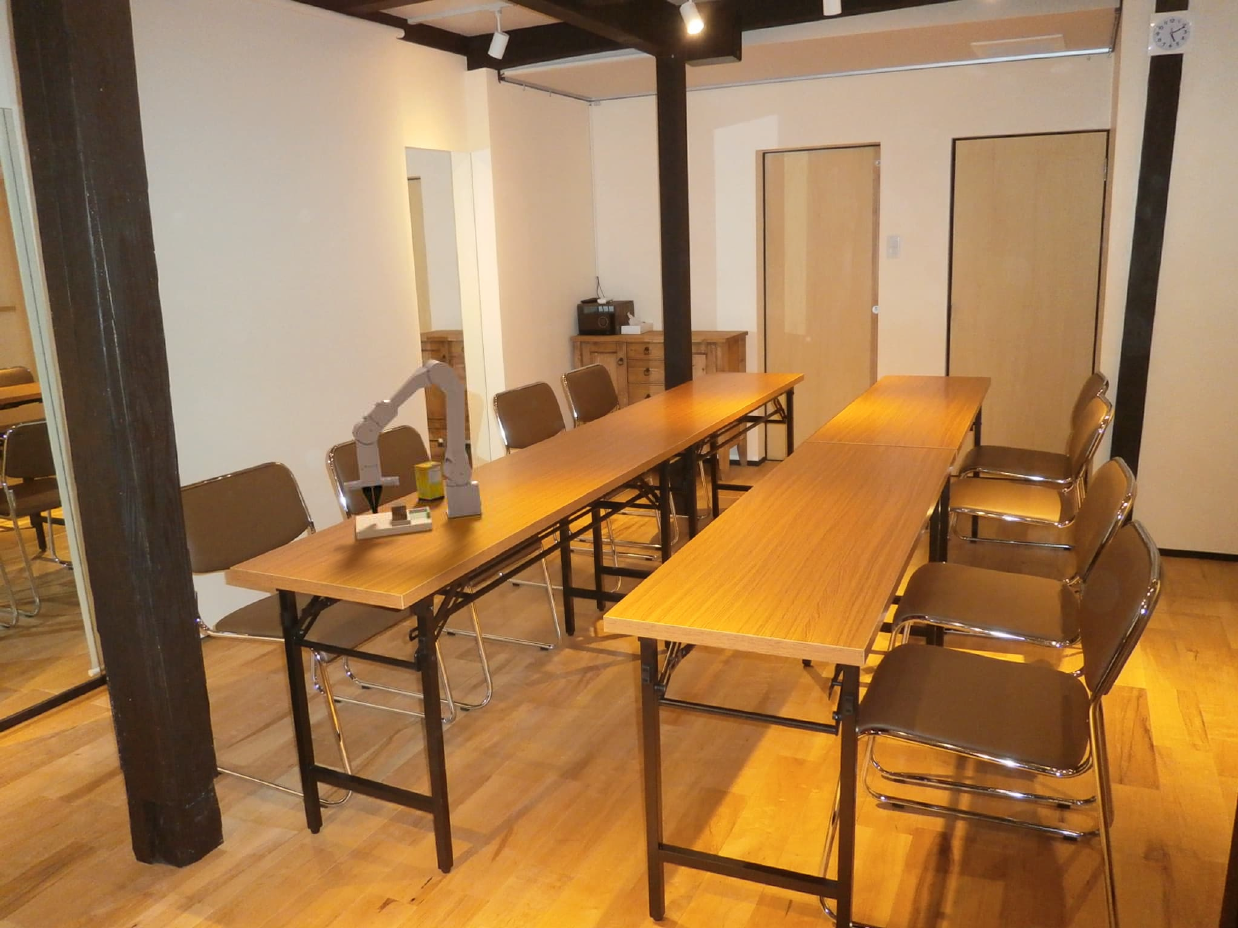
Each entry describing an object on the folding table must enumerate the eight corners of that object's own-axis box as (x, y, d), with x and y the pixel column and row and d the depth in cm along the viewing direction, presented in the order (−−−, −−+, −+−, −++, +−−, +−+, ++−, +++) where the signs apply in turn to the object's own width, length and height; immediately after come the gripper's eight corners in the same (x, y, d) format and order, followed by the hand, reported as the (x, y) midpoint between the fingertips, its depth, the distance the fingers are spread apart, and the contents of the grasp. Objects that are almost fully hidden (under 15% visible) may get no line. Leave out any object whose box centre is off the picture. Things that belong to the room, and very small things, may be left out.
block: (407, 515, 272) (405, 501, 271) (407, 519, 268) (405, 505, 267) (392, 517, 271) (390, 503, 270) (392, 521, 267) (391, 507, 266)
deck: (428, 513, 280) (427, 501, 279) (432, 529, 264) (431, 516, 263) (357, 523, 275) (355, 510, 274) (357, 539, 259) (355, 526, 259)
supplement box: (432, 495, 300) (428, 460, 298) (445, 497, 297) (441, 462, 294) (417, 500, 296) (413, 465, 293) (430, 502, 292) (426, 467, 290)
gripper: (396, 458, 270) (401, 505, 273) (342, 464, 266) (348, 512, 269) (397, 464, 263) (402, 512, 266) (341, 470, 260) (347, 519, 263)
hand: (375, 512), depth 267 cm, fingers closed
